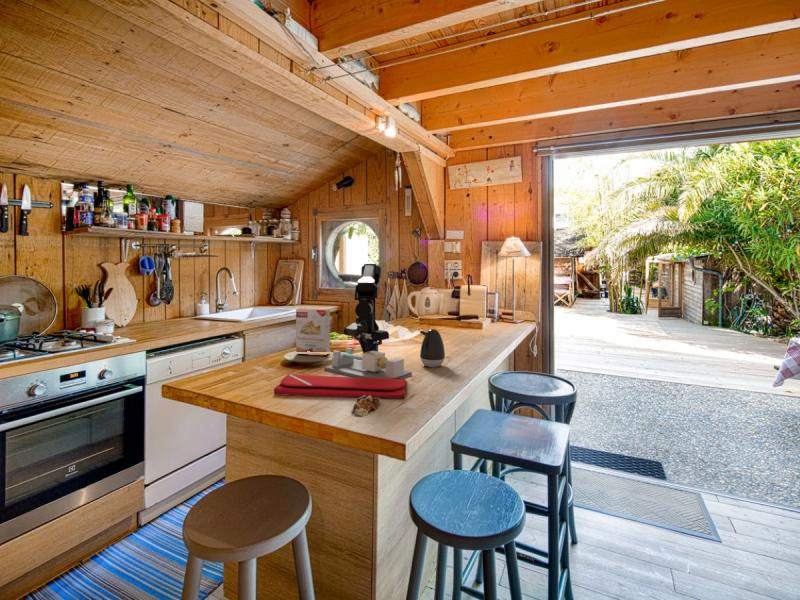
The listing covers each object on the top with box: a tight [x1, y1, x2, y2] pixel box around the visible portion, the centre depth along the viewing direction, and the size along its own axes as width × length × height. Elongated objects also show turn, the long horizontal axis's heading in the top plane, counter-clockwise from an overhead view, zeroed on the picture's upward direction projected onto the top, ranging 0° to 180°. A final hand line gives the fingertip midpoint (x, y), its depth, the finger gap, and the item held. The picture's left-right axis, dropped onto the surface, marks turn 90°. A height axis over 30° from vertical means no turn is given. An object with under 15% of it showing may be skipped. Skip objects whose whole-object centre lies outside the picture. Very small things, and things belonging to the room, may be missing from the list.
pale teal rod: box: [340, 351, 389, 369], centre depth 158 cm, size 4×29×4 cm, turn 53°
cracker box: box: [295, 307, 331, 353], centre depth 186 cm, size 14×6×21 cm, turn 81°
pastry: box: [351, 395, 381, 417], centre depth 119 cm, size 7×12×4 cm, turn 173°
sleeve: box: [361, 350, 386, 372], centre depth 156 cm, size 6×6×6 cm
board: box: [324, 347, 413, 380], centre depth 158 cm, size 16×30×7 cm, turn 53°
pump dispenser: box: [419, 328, 446, 368], centre depth 169 cm, size 10×10×15 cm
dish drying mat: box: [273, 373, 408, 400], centre depth 136 cm, size 16×41×4 cm, turn 87°
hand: (365, 355), depth 158 cm, fingers closed
